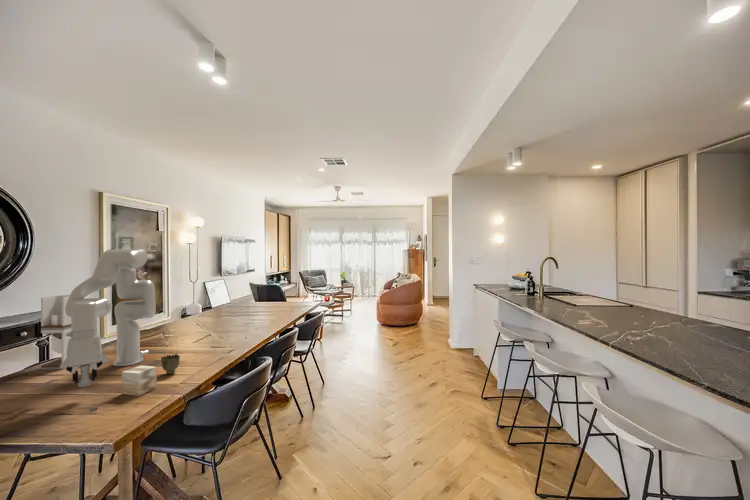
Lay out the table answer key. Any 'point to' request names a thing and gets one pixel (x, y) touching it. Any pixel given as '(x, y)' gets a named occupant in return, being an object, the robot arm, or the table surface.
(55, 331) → the display case
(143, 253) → the robot arm
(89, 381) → the rook chess piece
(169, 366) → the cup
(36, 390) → the table surface
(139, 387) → the tower base
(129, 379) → the tower top
